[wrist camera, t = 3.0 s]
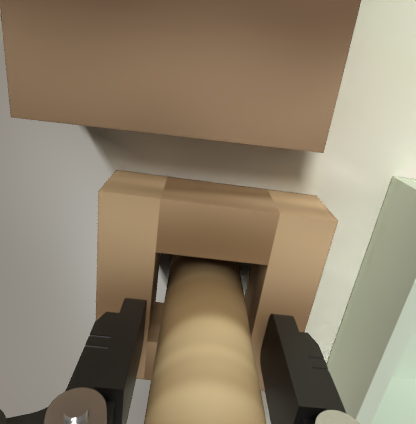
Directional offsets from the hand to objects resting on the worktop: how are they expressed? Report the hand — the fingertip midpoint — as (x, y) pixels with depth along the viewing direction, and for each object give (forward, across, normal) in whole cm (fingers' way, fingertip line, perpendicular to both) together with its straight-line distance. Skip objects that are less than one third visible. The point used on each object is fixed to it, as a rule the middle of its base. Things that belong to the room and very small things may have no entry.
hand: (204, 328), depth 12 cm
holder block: (+4, 0, 0) cm, 4 cm away
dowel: (+4, 0, 0) cm, 4 cm away
